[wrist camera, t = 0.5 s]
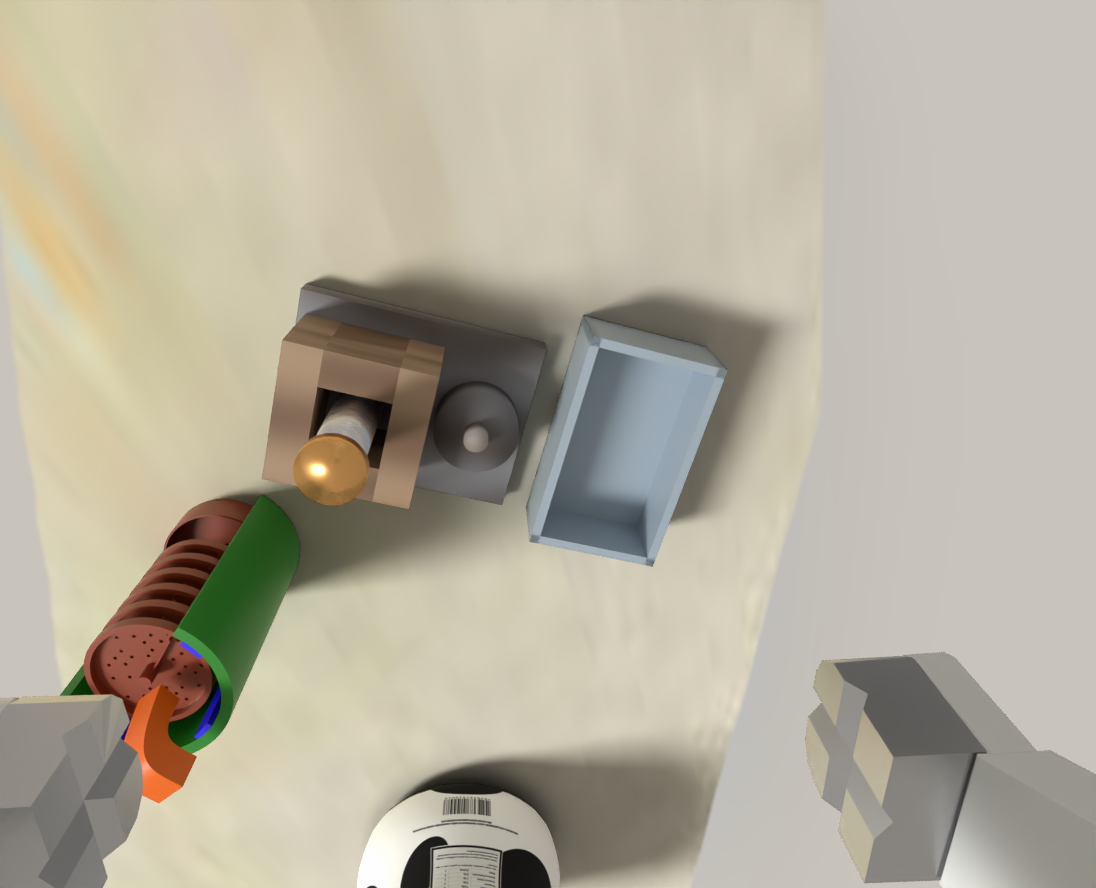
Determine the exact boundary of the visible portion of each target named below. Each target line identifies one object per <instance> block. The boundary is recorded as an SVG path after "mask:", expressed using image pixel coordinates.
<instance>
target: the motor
mask: <svg viewBox="0 0 1096 888" xmlns="http://www.w3.org/2000/svg"><path fill="white" fill-rule="evenodd" d="M227 543H230V544H229V546H227V545H225V544H227ZM299 556H300V546H299V540H298V536H297V533H296V530H295V528H294V526H293V524H292V523H291V521H290V519H289V518H288V517H287V515H286V514H285V513H284V512H283V511H282V510H281V509H280V508H279V507H278V506H277V505H276V504H275V503H274V502H272V501H271V500H269V499H268V498H266V497H265V496H263V495H261V496H260V497H259V498H258V500H257V501H256V503H255V504H254V506H253V507H252V506H250V505H247V504H245V503H242V502H238V501H233V500H212V501H208V502H204V503H201V504H199V505H197V506H195V507H194V508H192V509H191V510H189V511H188V512H187V513H186V514H185V515H184V516H183V518H182V519H181V520H180V522H179V523H178V524H177V525H176V527H175V528H174V529H173V530H172V532H171V533H170V535H169V536H168V538H167V540H166V542H165V546H164V551H163V552H162V553H161V554H160V556H159V557H158V558H157V560H156V561H155V562H154V564H153V565H152V567H151V568H150V569H149V570H148V571H147V573H146V574H145V575H144V576H143V578H142V580H141V581H140V582H139V583H138V584H137V586H136V587H135V588H134V589H133V591H132V592H131V594H130V595H129V597H128V598H127V599H126V600H125V601H124V602H123V604H122V605H121V606H120V608H119V609H118V611H117V612H116V614H115V615H114V616H113V617H112V618H111V619H110V621H109V622H108V623H107V625H106V626H105V627H104V629H103V631H102V632H101V633H100V634H99V635H98V636H97V638H96V639H95V640H94V642H93V643H92V644H91V646H90V647H89V649H88V651H87V653H86V656H85V659H84V664H83V666H82V667H81V668H80V670H79V671H78V672H77V674H76V675H75V676H74V678H73V679H72V680H71V682H70V683H69V684H68V686H67V687H66V688H65V689H64V691H63V692H62V693H61V695H60V696H73V695H114V696H116V697H119V698H121V699H122V700H123V703H124V706H125V709H126V712H127V715H128V718H129V721H130V723H129V724H128V726H127V728H126V729H125V731H124V733H123V735H122V736H121V739H122V740H123V741H124V742H126V743H127V744H128V745H129V746H131V747H132V748H133V749H134V750H136V751H137V752H138V754H139V758H140V762H141V766H142V774H143V792H142V795H143V796H145V797H147V798H149V799H151V800H153V801H155V802H157V803H160V802H161V801H163V800H164V799H166V798H167V797H169V796H170V795H171V794H173V793H174V792H176V791H177V790H179V789H180V788H182V787H183V785H184V783H185V780H186V778H187V776H188V774H189V772H190V770H191V768H192V766H193V763H194V761H195V759H196V757H197V756H195V755H193V754H191V753H194V752H196V751H198V750H200V749H202V748H204V747H205V746H207V745H208V744H210V743H211V742H212V741H213V740H215V739H216V738H217V737H218V736H219V735H220V733H221V732H222V731H223V730H224V728H225V727H226V725H227V723H228V721H229V719H230V717H231V714H232V712H233V710H234V708H235V705H236V703H237V701H238V699H239V696H240V694H241V692H242V690H243V687H244V685H245V683H246V681H247V678H248V676H249V674H250V672H251V669H252V667H253V665H254V663H255V660H256V658H257V656H258V654H259V652H260V649H261V647H262V645H263V643H264V640H265V638H266V636H267V634H268V631H269V629H270V627H271V625H272V622H273V620H274V618H275V616H276V613H277V611H278V609H279V607H280V604H281V602H282V600H283V598H284V595H285V593H286V591H287V589H288V586H289V584H290V582H291V580H292V578H293V575H294V573H295V571H296V569H297V566H298V562H299Z"/></svg>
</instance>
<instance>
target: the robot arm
mask: <svg viewBox="0 0 1096 888" xmlns="http://www.w3.org/2000/svg"><path fill="white" fill-rule="evenodd" d="M814 690H815V691H816V693H817V695H818V697H819V698H820V700H821V702H822V703H821V704H820V705H819V706H818V707H817V708H816V709H815V710H814V711H813V712H812V713H811V714H810V715H809V716H808V723H807V730H806V738H805V740H806V749H807V758H808V764H809V767H810V770H811V774H812V777H813V780H814V783H815V785H816V787H817V789H818V791H819V793H820V795H821V797H822V799H824V800H825V801H826V802H828V803H829V804H830V805H832V806H833V807H834V808H836V809H837V810H839V811H840V812H841V818H840V823H839V829H838V832H839V834H840V836H841V838H842V840H843V842H844V844H845V846H846V848H847V850H848V852H849V854H850V856H851V858H852V860H853V862H854V864H855V866H856V868H857V870H858V872H859V874H860V876H861V877H862V880H863V881H864V883H882V882H906V881H933V880H940V885H941V886H942V887H943V888H1096V774H1094V773H1092V772H1090V771H1088V770H1086V769H1085V768H1082V767H1081V766H1079V765H1077V764H1075V763H1073V762H1071V761H1070V760H1068V759H1066V758H1064V757H1062V756H1060V755H1058V754H1056V753H1054V752H1052V751H1050V750H1048V751H1037V750H1036V749H1035V748H1034V747H1033V746H1032V745H1031V744H1030V742H1029V741H1028V740H1027V739H1026V738H1025V737H1024V735H1023V734H1022V733H1021V732H1020V731H1019V730H1018V729H1017V728H1016V726H1015V725H1014V724H1013V723H1012V722H1011V721H1010V720H1009V718H1008V717H1007V716H1006V715H1005V714H1004V713H1003V712H1002V711H1001V709H1000V708H999V707H998V706H997V705H996V704H995V703H994V701H993V700H992V699H991V698H990V697H989V696H988V694H987V693H986V692H985V691H984V690H983V689H982V688H981V687H980V685H979V684H978V683H977V682H976V681H975V680H974V679H973V678H972V676H971V675H970V674H969V673H968V672H967V671H966V669H965V668H964V667H963V666H962V665H961V664H960V663H959V662H958V660H957V659H956V658H954V657H953V656H951V655H949V654H947V653H945V652H939V653H925V654H911V655H903V656H902V657H901V656H895V657H877V658H860V659H859V658H858V659H840V660H823V661H822V662H821V664H820V665H819V667H818V669H817V670H816V676H815V681H814ZM129 723H130V721H129V718H128V715H127V712H126V709H125V706H124V703H123V700H122V699H121V698H119V697H116V696H114V695H73V696H37V697H36V696H34V697H22V698H0V888H103V886H104V884H105V882H106V880H107V874H106V871H105V868H104V864H103V861H102V860H103V859H104V858H105V857H106V856H108V855H109V854H110V853H111V852H113V851H114V850H115V849H116V848H118V847H119V846H120V845H121V844H123V843H124V842H125V841H126V840H127V837H128V835H129V833H130V831H131V829H132V827H133V825H134V823H135V821H136V818H137V815H138V810H139V806H140V801H141V797H142V792H143V774H142V766H141V762H140V758H139V754H138V752H137V751H136V750H134V749H133V748H132V747H131V746H129V745H128V744H127V743H126V742H124V741H123V740H122V739H121V736H122V735H123V733H124V731H125V729H126V728H127V726H128V724H129Z"/></svg>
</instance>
